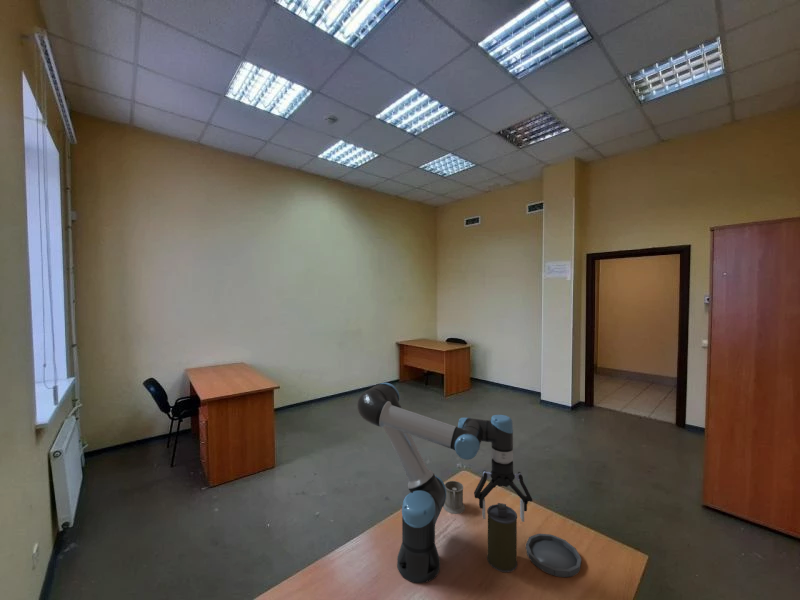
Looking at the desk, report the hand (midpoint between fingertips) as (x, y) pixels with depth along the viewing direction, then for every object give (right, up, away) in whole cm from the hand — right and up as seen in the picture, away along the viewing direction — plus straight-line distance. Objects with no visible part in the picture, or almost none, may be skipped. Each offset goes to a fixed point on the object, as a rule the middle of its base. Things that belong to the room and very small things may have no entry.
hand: (502, 518), depth 120 cm
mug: (-13, -16, +29) cm, 35 cm away
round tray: (+19, -16, +2) cm, 25 cm away
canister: (0, -16, 0) cm, 16 cm away
